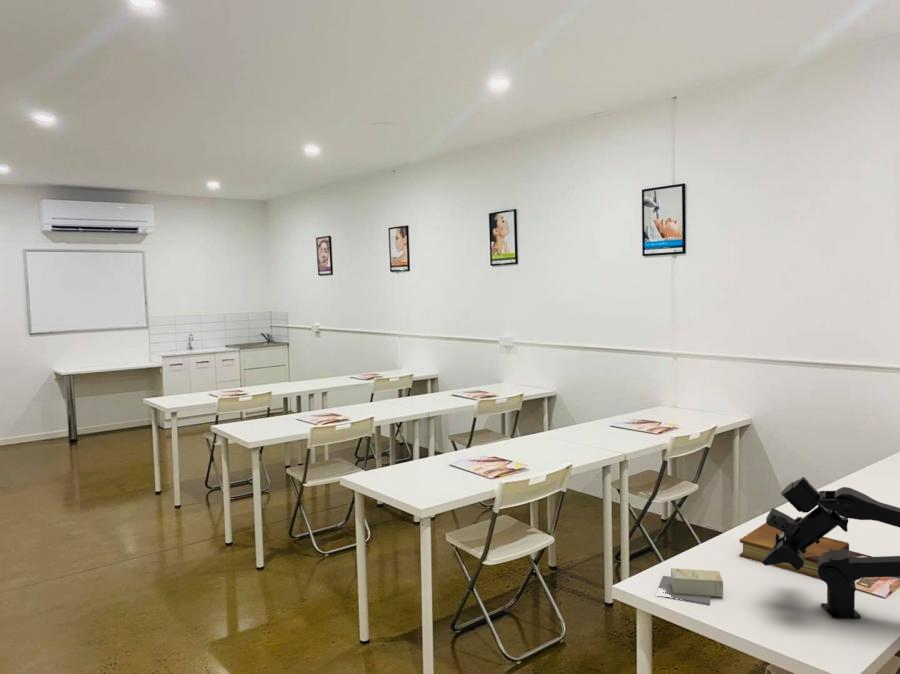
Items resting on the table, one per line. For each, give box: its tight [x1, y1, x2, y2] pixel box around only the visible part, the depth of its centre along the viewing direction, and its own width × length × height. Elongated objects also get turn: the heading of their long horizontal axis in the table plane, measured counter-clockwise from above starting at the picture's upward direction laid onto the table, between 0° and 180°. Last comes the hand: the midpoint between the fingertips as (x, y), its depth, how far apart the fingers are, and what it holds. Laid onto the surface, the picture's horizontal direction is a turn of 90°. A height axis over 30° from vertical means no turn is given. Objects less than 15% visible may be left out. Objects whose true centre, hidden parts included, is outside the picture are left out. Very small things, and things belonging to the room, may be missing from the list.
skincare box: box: [670, 568, 724, 598], centre depth 171 cm, size 6×4×12 cm
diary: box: [739, 522, 850, 580], centre depth 189 cm, size 23×19×6 cm
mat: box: [657, 575, 712, 606], centre depth 172 cm, size 13×12×1 cm
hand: (763, 563), depth 165 cm, fingers closed
